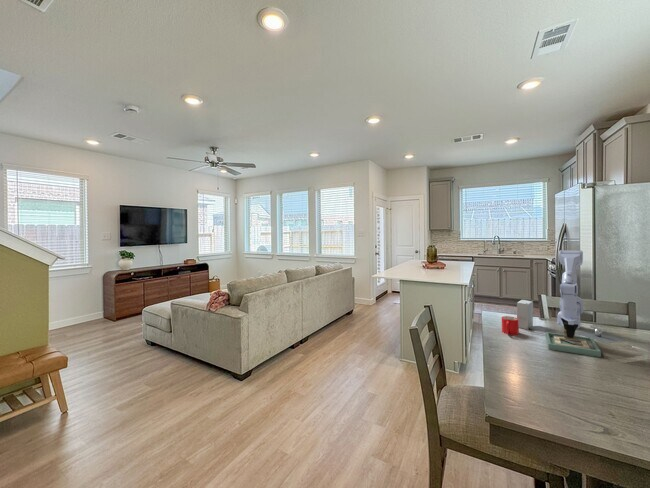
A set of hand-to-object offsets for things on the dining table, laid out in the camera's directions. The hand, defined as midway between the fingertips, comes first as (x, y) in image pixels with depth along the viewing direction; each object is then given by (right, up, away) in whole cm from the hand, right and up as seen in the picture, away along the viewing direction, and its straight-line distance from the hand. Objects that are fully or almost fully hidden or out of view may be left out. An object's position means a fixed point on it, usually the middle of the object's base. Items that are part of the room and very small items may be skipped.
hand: (569, 335), depth 142 cm
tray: (-3, -4, -4) cm, 7 cm away
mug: (-20, -4, +15) cm, 25 cm away
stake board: (+18, -3, +3) cm, 18 cm away
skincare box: (-5, -3, +24) cm, 24 cm away
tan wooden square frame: (-3, -3, -4) cm, 6 cm away
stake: (+17, -1, +2) cm, 17 cm away
